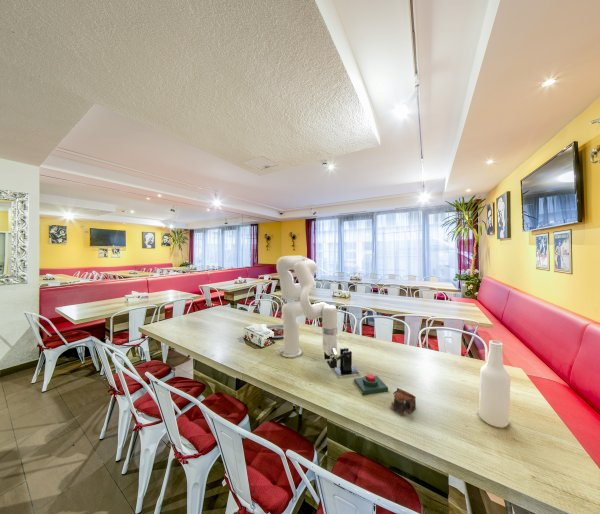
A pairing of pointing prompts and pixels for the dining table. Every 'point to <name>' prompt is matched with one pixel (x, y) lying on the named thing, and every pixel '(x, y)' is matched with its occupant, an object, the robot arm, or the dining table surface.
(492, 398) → the alcohol
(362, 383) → the button block
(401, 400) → the miniature brown house
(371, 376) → the red push button
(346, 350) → the switch lever
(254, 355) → the dining table surface
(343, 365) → the switch bracket
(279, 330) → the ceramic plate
